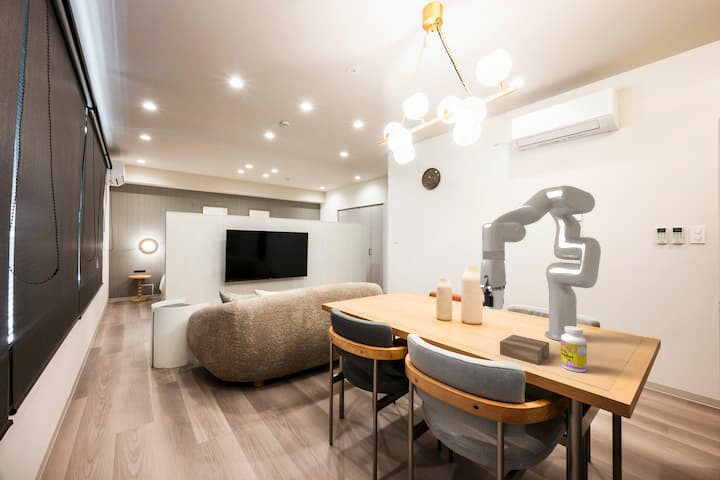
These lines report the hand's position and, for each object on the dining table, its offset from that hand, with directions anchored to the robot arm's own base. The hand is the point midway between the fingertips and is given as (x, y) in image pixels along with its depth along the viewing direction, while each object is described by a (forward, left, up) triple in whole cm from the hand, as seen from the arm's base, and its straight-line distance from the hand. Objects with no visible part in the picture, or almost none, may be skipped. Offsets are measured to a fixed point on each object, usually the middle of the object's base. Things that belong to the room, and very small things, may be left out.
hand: (494, 304), depth 107 cm
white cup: (0, 0, -1) cm, 1 cm away
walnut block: (-5, +8, -17) cm, 20 cm away
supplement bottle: (-6, +23, -17) cm, 29 cm away
